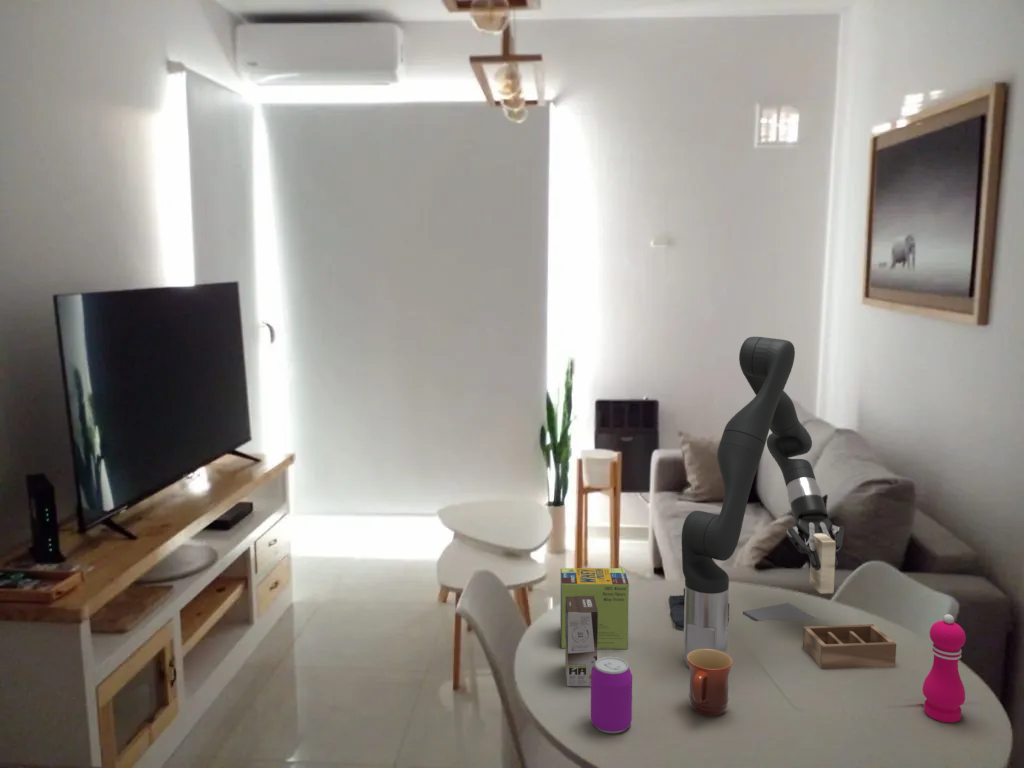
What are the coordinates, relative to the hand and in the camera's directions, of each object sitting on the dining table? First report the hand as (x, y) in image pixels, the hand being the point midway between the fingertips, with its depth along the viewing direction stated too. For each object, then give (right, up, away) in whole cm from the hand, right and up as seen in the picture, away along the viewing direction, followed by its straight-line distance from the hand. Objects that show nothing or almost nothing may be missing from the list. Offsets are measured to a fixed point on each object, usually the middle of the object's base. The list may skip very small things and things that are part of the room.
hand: (826, 568), depth 183 cm
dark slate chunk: (-24, -17, +20) cm, 36 cm away
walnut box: (+3, -19, -5) cm, 20 cm away
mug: (-34, -22, -26) cm, 48 cm away
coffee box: (-56, -20, -12) cm, 61 cm away
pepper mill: (+12, -22, -27) cm, 37 cm away
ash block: (0, -5, +3) cm, 6 cm away
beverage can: (-52, -23, -30) cm, 64 cm away
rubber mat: (-3, -17, +14) cm, 22 cm away
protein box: (-52, -18, +6) cm, 55 cm away
